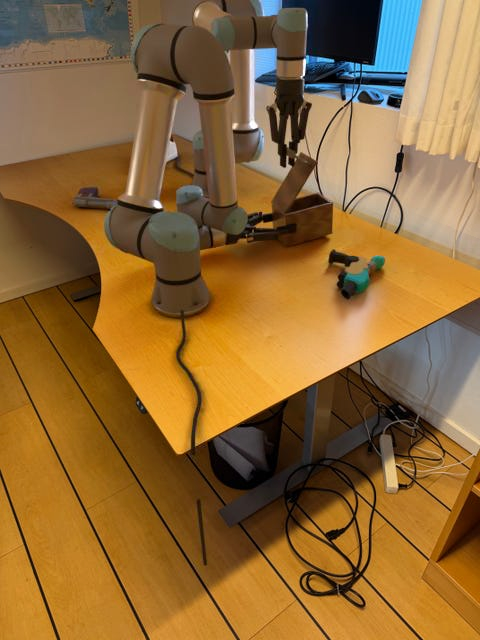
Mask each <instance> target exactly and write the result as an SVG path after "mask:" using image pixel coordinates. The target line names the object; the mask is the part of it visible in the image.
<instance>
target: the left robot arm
mask: <svg viewBox="0 0 480 640" xmlns="http://www.w3.org/2000/svg"><path fill="white" fill-rule="evenodd" d="M130 60H131V61H130V62H131V63H132V64H133V65H132V67H133V70H134V71H135V73H136V74H137V76H136V77H137V78H136V83H137V86H138V87H139V88H140V90H141V92H140V93H141V94H140V101H139V106H138V107H139V108H138V112H137V119H136V124H135V131H134V136H133V142H132V148H131V150H132V151H131V155H130V161H129V166H128V167H129V168H128V174H127V181H126V187H125V192H123V193H122V194H121V195H119V196H118V198H117V205H115V206H113V207H112V208H111V209H109V210H108V211H107V213H106V215H105V216H104V217H105V218H104V222H103V229H104V234H105V238H106V239H107V241H108V243H109V244H110V245H111V246H112V247H113V248H116V249H117V250H119V251H121V252H122V253H124V254H129V255H131V256H134V257H137V258H140V259H142V260H145V261H147V262H150V263H152V264H153V268H154V274H155V275H154V276H155V281H154V284H153V290H152V294H151V305H152V308H153V310H154V311H155V312H156V313H157V314H159V315H160V316H163V317H167V318H171V319H180V321H181V322H180V323H181V324H180V325H181V331H182V339H181V342H180V344H179V345H178V347H177V349H176V352H175V353H176V354H175V356H176V357H175V358H176V361H177V363H178V364H179V366H180V367H181V368H182V369H183V370H184V371H185V373H186V375H187V376H188V378H189V380H190V382H191V383H192V385H193V388H194V389H195V391H196V392H195V393H196V397H197V404H196V408H195V411H194V414H193V419H192V426H191V432H190V434H191V435H190V454H191V456H195V455H196V431H197V424H198V418H199V414H200V411H201V406H202V393H201V390H200V386H199V385H198V383H197V381H196V379H195V378H194V376H193V374H192V372H191V371H190V369H188V367H187V366H186V365H185V364H184V362H183V361H182V359H181V354H180V353H181V351H182V348H183V347H184V345H185V343H186V339H187V331H186V330H187V329H186V323H185V319H186V318H190V317H194V316H196V315H199V314H201V313H202V312H204V311H205V310H207V308H208V307H209V306H210V303H211V292H210V290H209V288H208V286H207V284H206V281H205V278H204V277H203V275H202V262H201V261H202V259H201V251H204V250H209V249H216V248H220V247H221V248H222V247H224V246H231V245H236V244H238V242H239V240H246V243H247V244H251V243H257V242H259V243H260V242H274V241H279V236H280V235H286V234H291V233H296V230H297V224H290V225H285V226H279V227H277V229H273V227H272V228H269V227H257V225H259V224H261V223H263V224H267V223H273V218H272V212H269V213H263V211H255V212H252V213H249V214H248V212H247V210H246V209H245V208H243V207H241V206H239V202H238V190H237V176H236V163H235V158H234V143H233V128H232V113H231V99H232V98H233V97H234V95H235V92H234V80H233V74H232V70H231V67H230V59H229V58H228V55H227V53H226V51H224V49H223V47H222V45H221V44H220V42H219V41H218V40H217V38H216V37H215V36H214V35H213V34H212V33H211V32H209V31H208V30H206V29H205V28H202V27H199V26H193V25H184V24H182V25H181V24H180V25H179V24H170V23H169V24H168V23H160V22H159V23H156V24H147V25H145V26H143V27H142V28H140V29H139V30H138V31H137V32H136V34H135V36H134V38H133V39H132V42H131V48H130ZM188 85H190V87H191V89H192V94H193V95H192V96H193V99H194V101H196V103H198V111H199V120H200V127H201V129H200V130H202V138H203V147H204V156H205V165H206V174H207V183H208V192H209V198H204V197H203V193H202V189H201V188H200V187H198V186H195V185H192V184H187V185H183V186H181V187H178V188H177V190H176V193H175V197H176V198H175V200H176V201H175V205H176V211H175V210H174V211H170V210H165V207H164V204H162V202H161V200H160V198H161V193H162V189H163V188H162V187H163V182H164V176H165V171H166V166H167V162H166V160H167V155H168V150H169V144H170V139H171V135H172V132H173V127H174V123H175V122H174V121H175V118H176V117H175V116H176V112H177V106H178V101H180V100H181V99H182V98H183V97H185V96H186V92H187V87H188ZM164 210H165V211H164ZM196 510H197V518H198V527H199V528H198V529H199V536H200V547H201V554H202V563H203V566H207V565H208V559H207V558H208V557H207V551H206V540H205V530H204V522H203V512H202V502H201V498H198V499H196Z"/></svg>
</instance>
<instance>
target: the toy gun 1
mask: <svg viewBox="0 0 480 640" xmlns="http://www.w3.org/2000/svg"><path fill="white" fill-rule="evenodd" d="M99 192H100V191H99V187H98V186H83V187H81V188H79V190H78V192H77V196H74V197H73V200H72V202H71V205H72V204H73V206H75V207H80V208H92V209H104V210H105V209H106V210H111V208H112V207H113V206H115V205H117V202H118V200H115V199H114V198H113V199H111V198H108V197H107V198H104V197H101V198H100V197H99V194H100V193H99Z"/></svg>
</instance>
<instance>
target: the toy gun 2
mask: <svg viewBox="0 0 480 640" xmlns="http://www.w3.org/2000/svg"><path fill="white" fill-rule="evenodd" d="M333 263H337V264H342V265H344V269H343V270H341V271H340V272H339V274H338V275H337V280H338V281H337V282H336V287H337V288H338V289H341V290H340V294H341V296H342V298H344V300H347V301H349V300H351V298H352V297H354V296H355V293H357V294H362V293H363V292H364V291H366V290H367V288H368V287H369V285H370V281H371V280H370V276H369V275H370V274H372V273H373V272H374V271H376V270H380V269H381V268H383V267H384V265H385V263H386V257H385V256H384V255H374V256H372V257H371V258H370V261H368V259H367V258H366V257H362V256H356V255H349V254H346V253H343V252H340V251H337V250H336V249H334V248H333V249H332V250H330V252H329V255H328V264H330V265H333Z"/></svg>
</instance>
